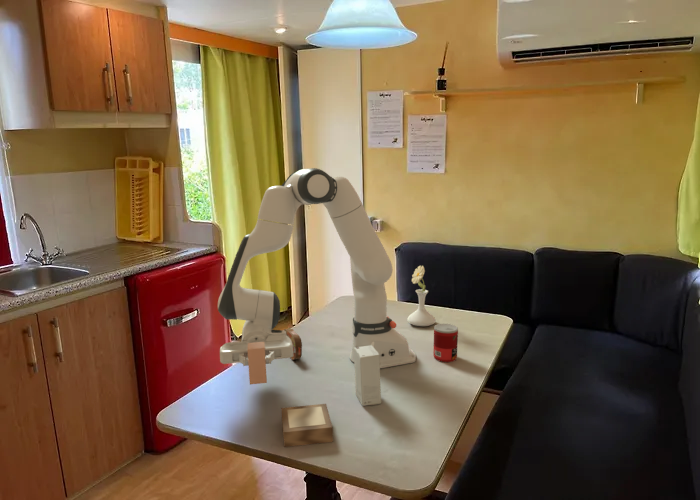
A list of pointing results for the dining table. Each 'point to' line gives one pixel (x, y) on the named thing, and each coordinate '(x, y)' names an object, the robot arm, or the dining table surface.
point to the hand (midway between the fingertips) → (257, 362)
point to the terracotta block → (257, 363)
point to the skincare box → (367, 375)
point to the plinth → (306, 425)
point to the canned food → (445, 342)
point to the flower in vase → (420, 302)
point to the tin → (295, 343)
